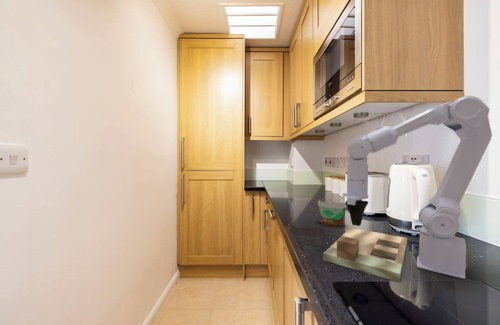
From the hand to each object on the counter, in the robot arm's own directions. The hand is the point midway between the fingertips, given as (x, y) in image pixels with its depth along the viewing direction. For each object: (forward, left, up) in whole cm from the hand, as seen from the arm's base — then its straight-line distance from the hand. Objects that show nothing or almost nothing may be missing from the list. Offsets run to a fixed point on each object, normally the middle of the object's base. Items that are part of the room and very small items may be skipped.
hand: (356, 224), depth 69 cm
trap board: (-3, -4, -9) cm, 10 cm away
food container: (+15, -24, -9) cm, 30 cm away
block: (0, +9, -7) cm, 11 cm away
